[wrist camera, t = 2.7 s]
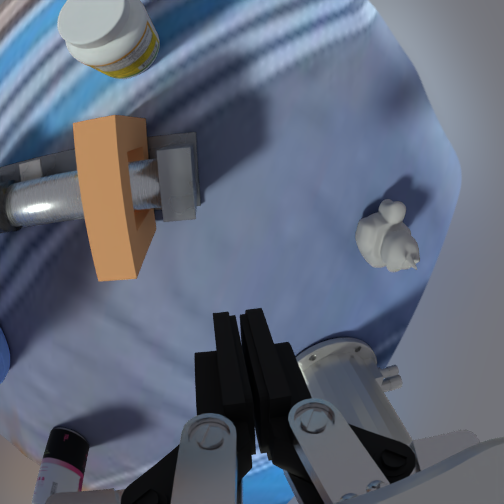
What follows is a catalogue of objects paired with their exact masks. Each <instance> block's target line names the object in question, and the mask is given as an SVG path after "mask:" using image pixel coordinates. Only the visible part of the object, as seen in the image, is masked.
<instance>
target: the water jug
mask: <svg viewBox="0 0 504 504" xmlns="http://www.w3.org/2000/svg"><path fill="white" fill-rule="evenodd" d="M9 368H10V352H9V347H8V344H7V341H6V338H5V336H4V334H3V331H2V329H1V327H0V384H1V383H2V382H3V380H4V379H5V377H6V375H7V373H8V371H9Z"/></svg>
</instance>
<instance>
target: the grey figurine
mask: <svg viewBox="0 0 504 504" xmlns="http://www.w3.org/2000/svg"><path fill="white" fill-rule="evenodd" d="M405 213H406V207H405V205H404V204H403V203H402V202H400V201H395V202H393V201H392V200H390V199H385V200H383V201H382V202H381V204H380V206H379V210H378V212H377V213H374V214H371V215H369V216H368V217H365V218H362V219H360V220H359V222H358V226H357V230H356V235H355V238H356V243H357V245H358V248H359V250H360V252H361V254H362V256H363V257H364V259H365V260H366V261H367V262H368V263H369V264H370V265H371V266H373V267H376V268H381V267H385V266H387V269H388V270H389V271H390V272H397V271H399V270H401V269H409V268H411V267H413V268H415V269H416V270H417V267H416V265H415V264H416V263H418V262H419V261H420V257H419V248H418V244H417V242H416V240H415V239H414V238H413V237H412V236H411V231H410V229H409V228H408V227H407V226H406V225H405V224H404V223H403V222H402V221H403V219H404V216H405Z"/></svg>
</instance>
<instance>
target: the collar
mask: <svg viewBox="0 0 504 504" xmlns="http://www.w3.org/2000/svg"><path fill="white" fill-rule="evenodd" d="M73 132H74V144H75V154H76V163H77V171H78V179H79V186H80V193H81V200H82V206H83V212H84V217H85V223H86V228H87V233H88V238H89V243H90V247H91V252H92V256H93V261H94V265H95V269H96V273H97V277H98V281H111V280H125V279H137V276H138V274H139V271H140V269H141V266H142V263H143V261H144V258H145V256H146V253H147V251H148V248H149V246H150V243H151V241H152V238H153V236H154V233H155V231H156V222H155V215H154V208H150V209H141V210H134V209H133V201H132V193H131V185H130V176H129V167H128V162H132V161H140V160H148V159H149V158H148V145H147V131H146V119H145V118H138V117H129V116H121V115H112V116H106V117H101V118H96V119H91V120H86V121H81V122H77V123H73Z"/></svg>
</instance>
